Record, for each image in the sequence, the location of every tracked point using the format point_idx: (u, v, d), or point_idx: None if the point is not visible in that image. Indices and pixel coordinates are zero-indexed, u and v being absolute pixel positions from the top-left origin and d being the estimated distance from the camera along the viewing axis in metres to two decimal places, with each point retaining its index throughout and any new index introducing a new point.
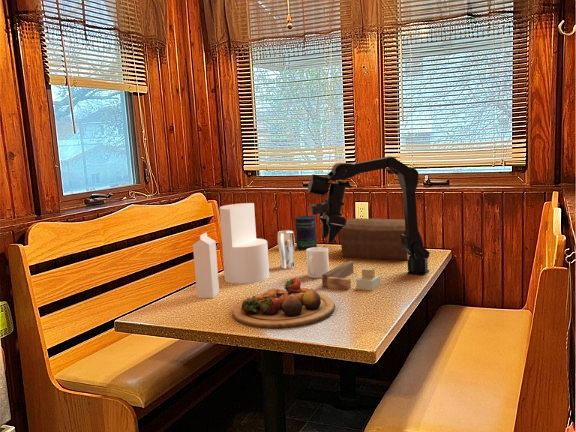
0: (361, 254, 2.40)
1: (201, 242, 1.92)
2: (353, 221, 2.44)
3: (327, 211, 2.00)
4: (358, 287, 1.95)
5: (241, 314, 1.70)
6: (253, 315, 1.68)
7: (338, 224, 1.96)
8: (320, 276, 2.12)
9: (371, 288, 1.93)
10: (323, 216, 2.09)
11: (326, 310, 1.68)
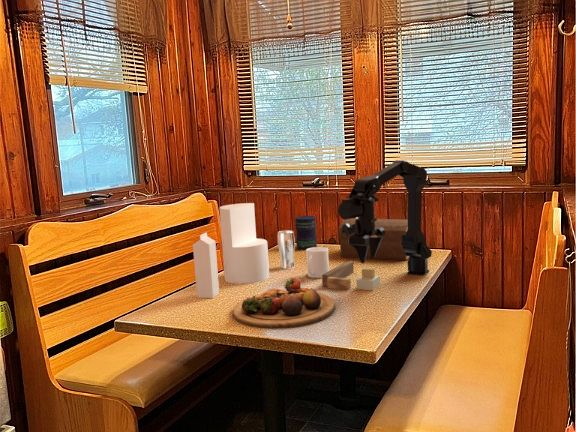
0: None
1: (201, 242, 1.92)
2: (352, 221, 2.44)
3: (356, 231, 1.93)
4: (358, 287, 1.95)
5: (241, 314, 1.70)
6: (253, 315, 1.68)
7: None
8: (320, 276, 2.12)
9: (371, 288, 1.93)
10: None
11: (326, 310, 1.68)
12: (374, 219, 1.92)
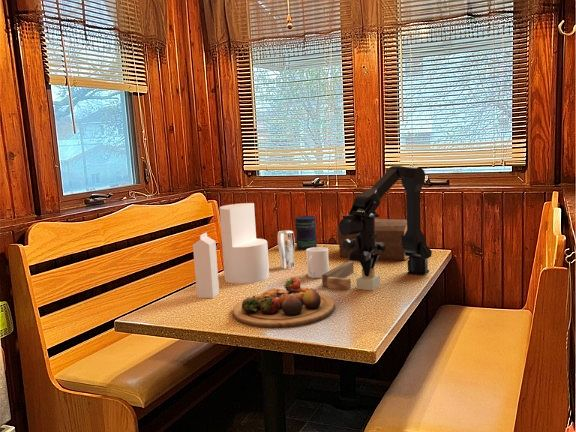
0: None
1: (201, 242, 1.92)
2: None
3: (356, 247, 1.94)
4: (358, 287, 1.95)
5: (241, 313, 1.70)
6: (253, 314, 1.69)
7: None
8: (320, 276, 2.12)
9: (371, 287, 1.93)
10: None
11: (326, 309, 1.68)
12: (374, 235, 1.93)
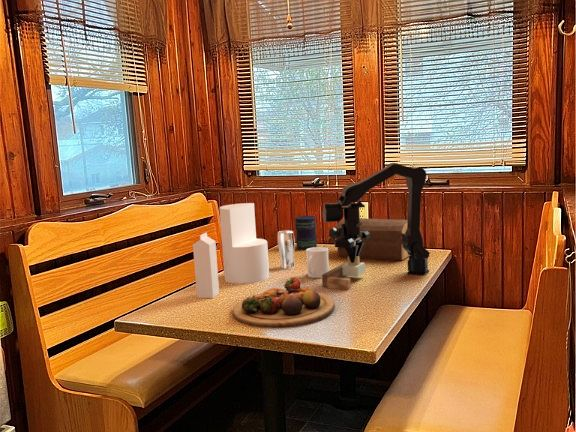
0: None
1: (201, 242, 1.92)
2: None
3: (342, 235, 2.05)
4: (344, 273, 2.06)
5: (241, 313, 1.71)
6: (253, 314, 1.69)
7: None
8: (320, 276, 2.12)
9: (356, 274, 2.04)
10: None
11: (325, 309, 1.69)
12: (359, 223, 2.04)
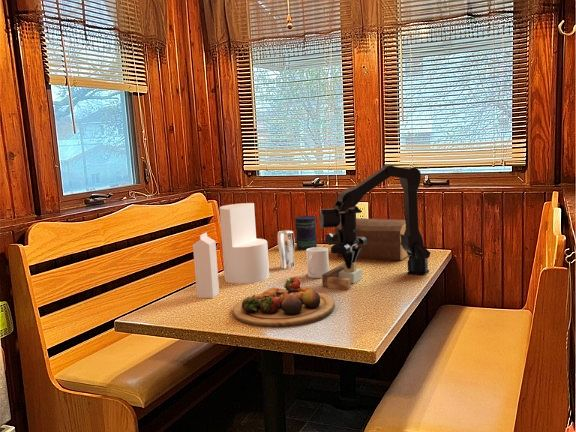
0: None
1: (201, 242, 1.92)
2: None
3: (338, 240, 2.03)
4: None
5: (241, 313, 1.71)
6: (253, 314, 1.69)
7: None
8: (320, 276, 2.12)
9: (352, 281, 2.02)
10: None
11: (325, 309, 1.69)
12: (356, 229, 2.02)
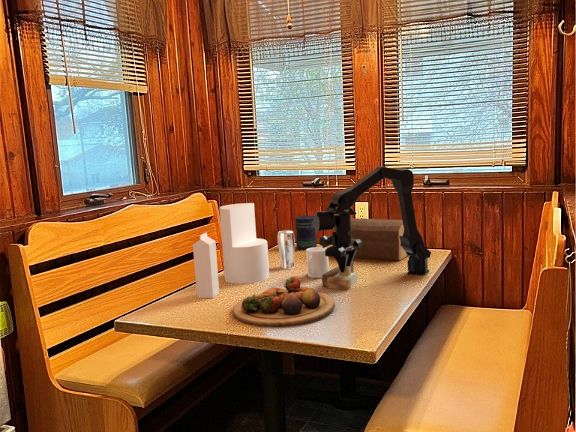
0: (355, 254, 2.41)
1: (201, 242, 1.92)
2: None
3: (333, 243, 1.99)
4: None
5: (241, 312, 1.71)
6: (253, 313, 1.69)
7: None
8: (320, 276, 2.12)
9: None
10: None
11: (325, 309, 1.69)
12: (350, 231, 1.98)
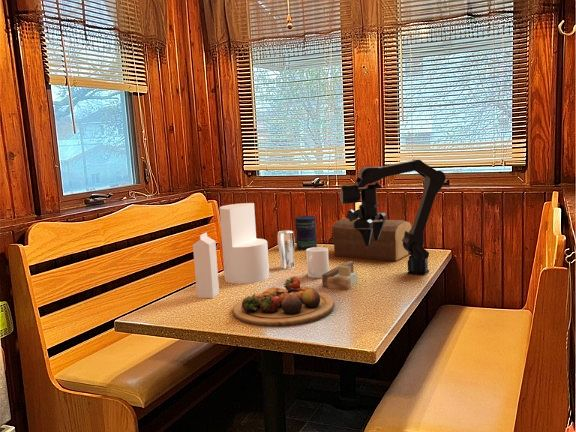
0: (352, 254, 2.42)
1: (201, 242, 1.92)
2: (346, 221, 2.46)
3: (360, 216, 2.06)
4: None
5: (241, 312, 1.71)
6: (253, 313, 1.70)
7: None
8: (320, 276, 2.12)
9: None
10: None
11: (325, 308, 1.69)
12: (377, 204, 2.06)
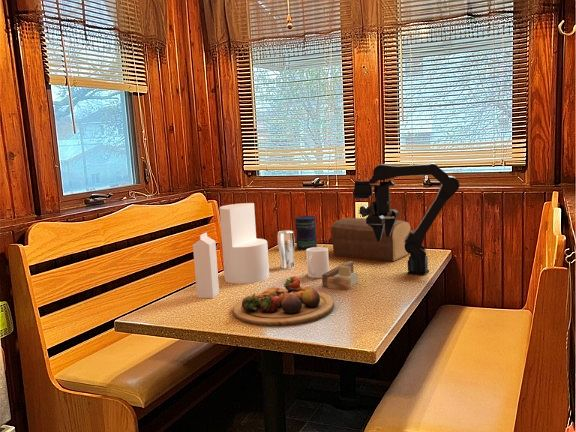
0: (351, 254, 2.43)
1: (201, 242, 1.92)
2: (345, 220, 2.47)
3: (372, 212, 2.10)
4: None
5: (241, 312, 1.72)
6: (253, 313, 1.70)
7: (376, 223, 2.05)
8: (320, 276, 2.12)
9: None
10: None
11: (325, 308, 1.70)
12: (389, 201, 2.10)
